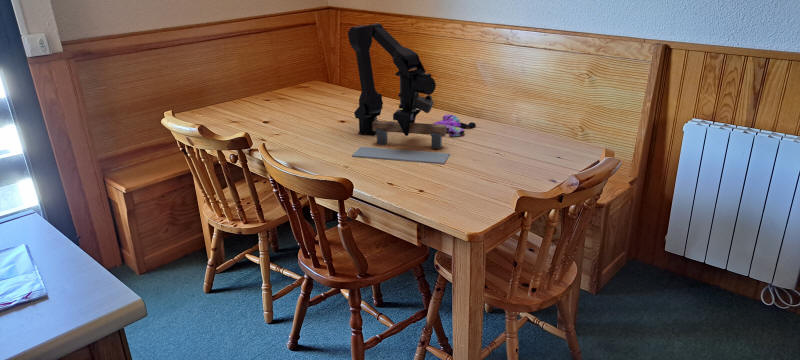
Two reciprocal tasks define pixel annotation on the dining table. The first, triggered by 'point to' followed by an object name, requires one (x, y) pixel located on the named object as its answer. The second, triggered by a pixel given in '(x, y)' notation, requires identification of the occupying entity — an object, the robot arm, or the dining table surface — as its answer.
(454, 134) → the decorative sculpture
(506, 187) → the dining table surface
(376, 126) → the rail
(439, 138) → the grey block
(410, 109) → the robot arm
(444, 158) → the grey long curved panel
